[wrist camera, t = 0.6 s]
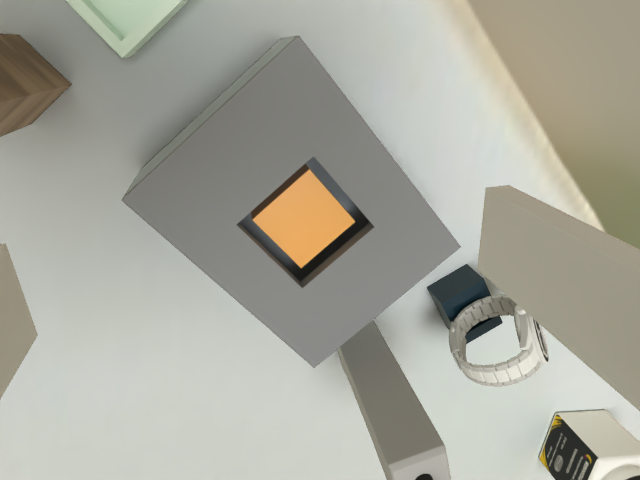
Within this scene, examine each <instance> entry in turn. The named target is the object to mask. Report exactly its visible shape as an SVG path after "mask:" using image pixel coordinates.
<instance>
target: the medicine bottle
mask: <svg viewBox="0 0 640 480" xmlns="http://www.w3.org/2000/svg"><path fill="white" fill-rule="evenodd" d="M539 459H540V461H541V462H542V463H543V464H544V466H545V467H546V468H547V469H548V471H549V472H550V473H551V475H552V476H553V477H554V478H555V480H640V442H639V441H638V440H637V439H636V438H635V437H634V436H633V435H632V434H631V433H630V432H628V431H627V430H626V429H625V428H624V427H623V426H622V425H621V424H620V423H619V422H618V421H617V420H616V419H615V418H613V417H612V416H611V415H610V414H609V413H608V412H607V411H606V410H597V411H579V412H562V413H556V414H555V416H554V418H553V421H552V424H551V426H550V429H549V432H548V434H547V437H546V440H545V443H544V445H543V448H542V451H541V453H540V456H539Z"/></svg>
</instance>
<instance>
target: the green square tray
mask: <svg viewBox="0 0 640 480" xmlns="http://www.w3.org/2000/svg"><path fill="white" fill-rule="evenodd" d="M66 1H67V2H68V4H69V5H70V6H71V7H72V8H73V9H74V10H75V11H76V12H77V13H78V14H79V15H80V16H81V17H82V18H83V19H84V20H85V21H86V22H87V23H88V24H89V25H90V26H91V27H92V28H93V29H94V30H95V31H96V32H97V33H98V34H99V35H100V36H101V37H102V38H103V39H104V40H105V41H106V43H107V44H108V45H109V46H110V47H111V48H112V49H113V50H114V51H115V52H116V53H117V54H118V55H119V56H120V57H121V58H131V57H132V56H133V55H134V54H135V53H136V52H137V51H138V50H139V49H140V48H141V47H142V46H143V45H144V44H145V43H146V42H147V41H148V40H149V39H150V38H151V37H152V36H153V35H154V34H155V33H156V32H157V31H159V30H160V29H161V28H162V27H163V26H164V25H165V24H166V23H167V22H168V21H169V20H170V19H171V18H172V17H173V16H174V15H175V14H176V13H177V12H178V11H179V10H180V9H181V8H182V7H183V6H184V5H185V4H186V3H187V2H188V1H189V0H66Z"/></svg>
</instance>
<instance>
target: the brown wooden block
mask: <svg viewBox="0 0 640 480" xmlns="http://www.w3.org/2000/svg"><path fill="white" fill-rule="evenodd" d="M71 85H72V84H71V83H70V82H69V81H68V80H67V79H65V78H64V77H63V76H62V75H61V74H60V73H59V72H58V71H57V70H56V69H55V68H54V67H53V66H52V65H51V64H50V63H49V62H47V61H46V60H45V59H44V58H43V57H42V56H41V55H40V54H39V53H38V52H37V51H36V50H35V49H34V48H33V47H32V46H31V45H30V44H28V43H27V42H26V41H25V40H24V39H23V38H22V37H21V36H20V35H12V34H0V137H1V136H3V135H6V134H8V133H10V132H13V131H15V130H18V129H20V128H23V127H25V126H27V125H30V124H32V123H33V122H34V121H35V120H36V119H37V118H38V117H39V116H40V115H41V114H42V113H43V112H44V111H45V110H46V109H47V108H48V107H49V106H50V105H51V104H52V103H53V102H54V101H55V100H56V99H57V98H58V97H59V96H60V95H61V94H62V93H63V92H64V91H65V90H66V89H67V88H68V87H69V86H71Z"/></svg>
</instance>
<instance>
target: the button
mask: <svg viewBox="0 0 640 480" xmlns="http://www.w3.org/2000/svg"><path fill="white" fill-rule="evenodd" d="M251 216H252V220H253V221H254V222H255V223H256V224H257V225H258V226H259V227H260V228H261V229H262V230H263V231H264V232H265V233H266V234H267V235H268V236H269V237H270V238H271V239H272V240H273V241H274V242H275V243H276V244H277V245H278V246H279V247H280V248H281V249H282V250H283V251H284V252H285V253H286V254H287V255H288V256H289V257H290V258H291V259H292V260H293V261H294V262H295V263H296V264H297V265H298V266H299V267H300V268H302V267H303V266H304V265H306V264H307V263H308V262H309V261H310V260H311V259H313V258H314V257H315V256H316V255H317V254H318V253H320V252H321V251H322V250H323V249H324V248H325V247H327V246H328V245H329V244H330V243H331V242H332V241H334V240H335V239H336V238H337V237H338V236H339V235H341V234H342V233H343V232H344V231H345V230H346V229H348V228H349V227H350V226H351V225H352V224H353V223H355V220H354V219H353V218H352V217H351V215H350V214H349V213H348V212H347V210H346V209H345V208H344V207H343V206H342V205H341V204H340V202H339V201H338V200H337V199H336V198H335V197H334V196H333V194H332V193H331V192H330V191H329V190H328V189H327V188H326V187H325V185H324V184H323V183H322V182H321V181H320V180H319V179H318V177H317V176H316V175H315V174H314V173H313V172H312V171H311V169H310V168H309V167H308V166H307V165H306V164H304V165H303V166H302V167H301V168H300V169H299V170H297V171H296V172H295V173H294V174H293V175H292V176H291V177H290V178H288V179H287V180H286V181H285V182H284V183H283V184H282V185H281V186H279V187H278V188H277V189H276V190H275V191H274V192H273V193H272V194H270V195H269V196H268V197H267V198H266V199H265V200H264V201H263V202H261V203H260V204H259V205H258V206H257V207H256V208H255V209H254V210H252V211H251Z"/></svg>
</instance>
